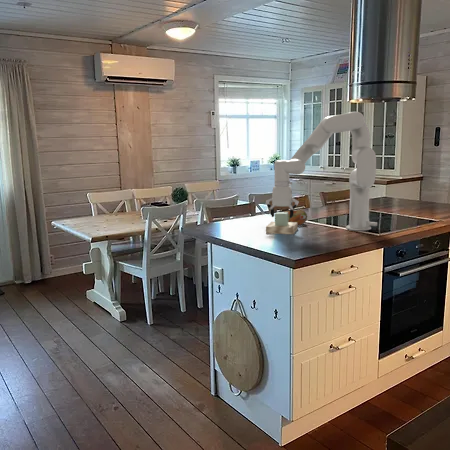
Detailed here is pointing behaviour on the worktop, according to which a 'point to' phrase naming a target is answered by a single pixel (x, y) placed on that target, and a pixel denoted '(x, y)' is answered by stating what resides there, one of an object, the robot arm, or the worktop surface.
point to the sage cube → (281, 219)
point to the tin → (297, 216)
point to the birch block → (282, 228)
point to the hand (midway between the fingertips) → (282, 216)
